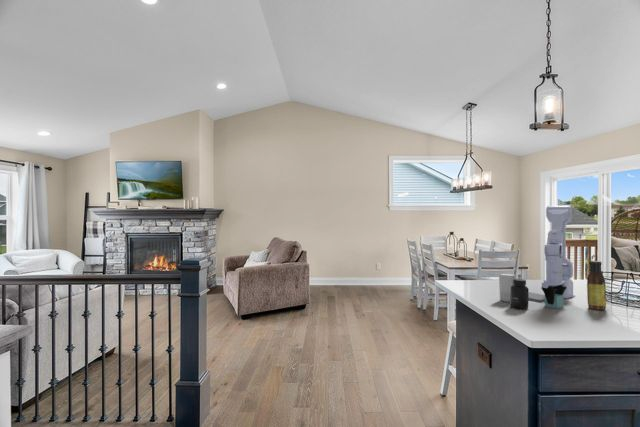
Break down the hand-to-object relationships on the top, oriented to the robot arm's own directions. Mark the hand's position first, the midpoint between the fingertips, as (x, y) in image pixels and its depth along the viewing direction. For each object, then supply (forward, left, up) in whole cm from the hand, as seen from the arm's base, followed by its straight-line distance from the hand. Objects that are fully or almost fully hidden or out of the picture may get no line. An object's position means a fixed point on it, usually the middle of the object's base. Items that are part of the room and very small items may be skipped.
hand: (554, 303), depth 158 cm
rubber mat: (-8, -13, -1) cm, 15 cm away
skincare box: (+8, -16, -2) cm, 18 cm away
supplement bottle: (+15, -6, -2) cm, 16 cm away
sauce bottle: (-11, +11, -2) cm, 16 cm away
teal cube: (0, 0, -1) cm, 1 cm away
